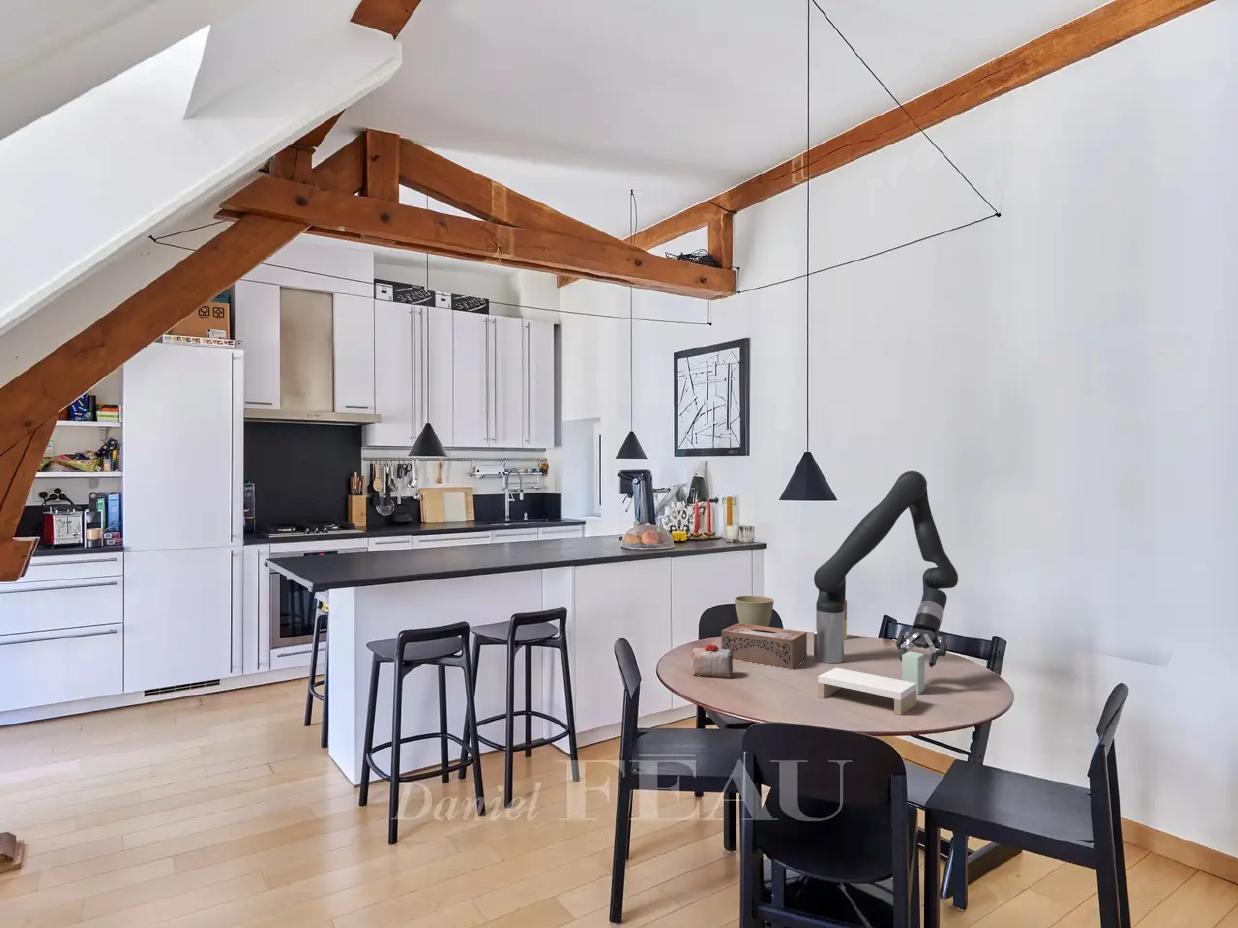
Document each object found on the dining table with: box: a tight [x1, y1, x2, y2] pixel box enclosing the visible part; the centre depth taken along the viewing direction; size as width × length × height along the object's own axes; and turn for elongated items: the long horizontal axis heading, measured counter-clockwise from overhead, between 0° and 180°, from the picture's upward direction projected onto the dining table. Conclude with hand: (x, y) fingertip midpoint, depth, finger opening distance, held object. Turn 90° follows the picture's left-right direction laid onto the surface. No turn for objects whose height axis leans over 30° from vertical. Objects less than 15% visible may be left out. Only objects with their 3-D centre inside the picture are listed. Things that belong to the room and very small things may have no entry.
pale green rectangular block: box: [901, 650, 926, 696], centre depth 217 cm, size 4×6×11 cm
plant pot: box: [734, 595, 775, 627], centre depth 281 cm, size 15×15×16 cm
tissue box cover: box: [720, 622, 808, 670], centre depth 253 cm, size 26×14×10 cm, turn 57°
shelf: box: [817, 667, 917, 716], centre depth 208 cm, size 24×12×6 cm, turn 49°
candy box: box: [844, 599, 848, 640], centre depth 282 cm, size 9×4×15 cm, turn 116°
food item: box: [690, 642, 734, 679], centre depth 234 cm, size 14×8×10 cm, turn 75°
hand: (916, 663), depth 218 cm, fingers open, 8 cm apart
